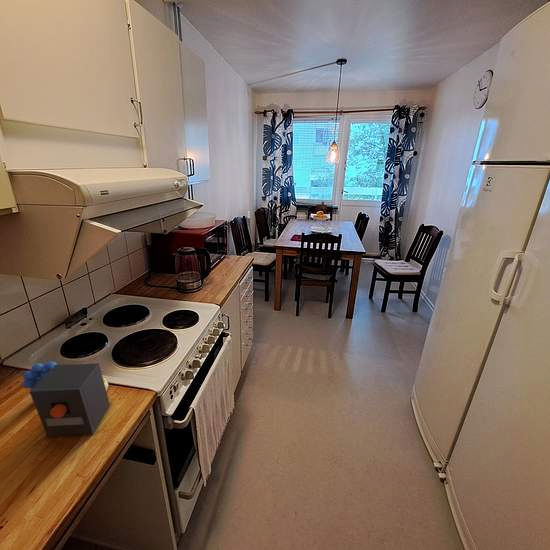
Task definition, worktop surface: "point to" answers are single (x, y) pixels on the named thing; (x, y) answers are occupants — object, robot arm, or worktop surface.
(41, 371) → the grapes
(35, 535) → the worktop surface
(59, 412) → the power button
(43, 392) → the push button control box
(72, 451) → the worktop surface
